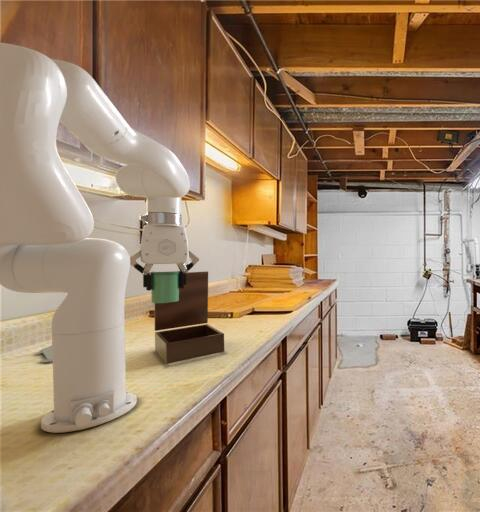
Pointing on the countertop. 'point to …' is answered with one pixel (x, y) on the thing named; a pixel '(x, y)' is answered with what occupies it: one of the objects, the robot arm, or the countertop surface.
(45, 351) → the metal bracket
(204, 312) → the bin lid
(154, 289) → the pot
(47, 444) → the countertop surface
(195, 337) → the bin
